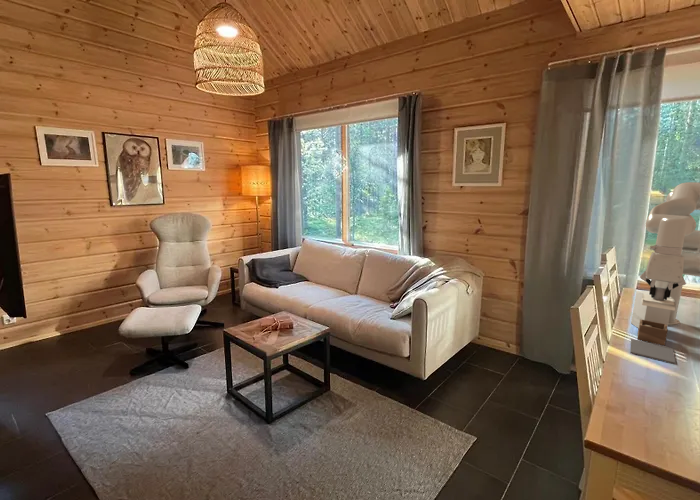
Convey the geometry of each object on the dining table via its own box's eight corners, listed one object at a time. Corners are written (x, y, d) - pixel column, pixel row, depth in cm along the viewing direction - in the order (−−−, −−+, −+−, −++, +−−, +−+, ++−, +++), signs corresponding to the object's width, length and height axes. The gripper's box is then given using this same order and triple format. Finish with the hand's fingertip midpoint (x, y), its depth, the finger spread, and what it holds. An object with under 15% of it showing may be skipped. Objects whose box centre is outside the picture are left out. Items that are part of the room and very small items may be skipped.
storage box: (637, 333, 146) (640, 319, 144) (663, 338, 141) (666, 324, 140) (637, 339, 139) (640, 325, 138) (664, 345, 134) (667, 330, 133)
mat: (630, 340, 139) (631, 338, 139) (672, 349, 132) (672, 348, 131) (630, 353, 128) (630, 351, 128) (675, 364, 121) (675, 362, 121)
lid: (641, 298, 144) (644, 283, 143) (672, 304, 138) (676, 288, 137) (641, 304, 137) (644, 288, 136) (674, 310, 131) (678, 293, 130)
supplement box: (667, 333, 146) (674, 298, 143) (642, 331, 148) (648, 296, 145) (653, 325, 155) (660, 291, 152) (629, 323, 156) (635, 289, 153)
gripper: (639, 249, 135) (631, 295, 139) (699, 255, 125) (689, 305, 129) (639, 246, 141) (631, 291, 145) (697, 252, 131) (686, 300, 135)
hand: (658, 297), depth 137 cm, fingers closed on lid, 3 cm apart
